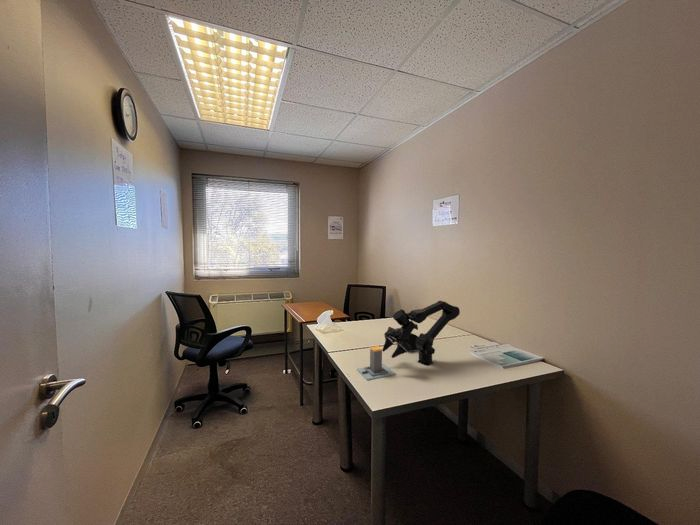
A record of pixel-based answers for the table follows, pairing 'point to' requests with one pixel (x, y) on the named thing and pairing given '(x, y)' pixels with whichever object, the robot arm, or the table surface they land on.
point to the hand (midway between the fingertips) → (387, 354)
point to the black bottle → (412, 341)
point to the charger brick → (376, 359)
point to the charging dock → (370, 375)
